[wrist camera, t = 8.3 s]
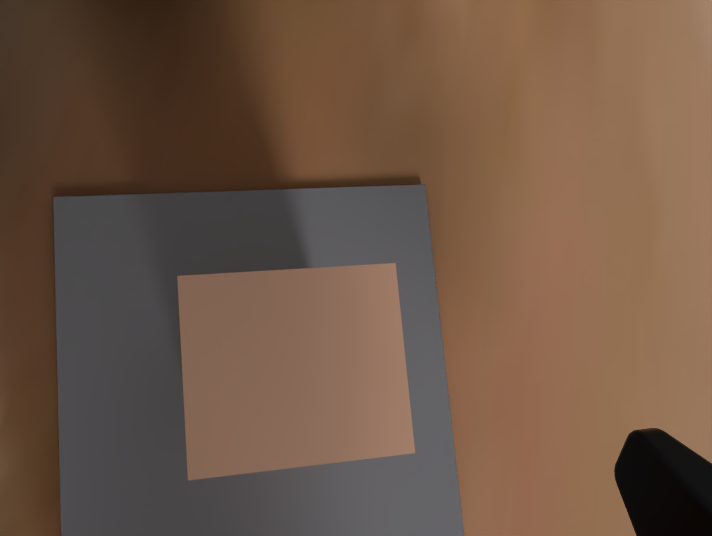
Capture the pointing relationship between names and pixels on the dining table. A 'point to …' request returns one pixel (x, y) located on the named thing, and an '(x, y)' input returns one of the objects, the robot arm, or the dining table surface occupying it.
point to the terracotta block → (292, 369)
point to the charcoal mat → (164, 363)
